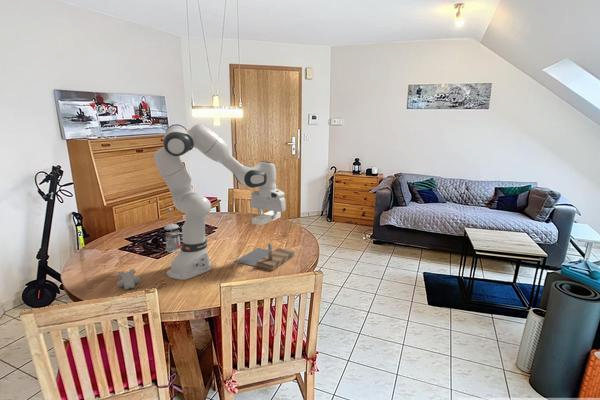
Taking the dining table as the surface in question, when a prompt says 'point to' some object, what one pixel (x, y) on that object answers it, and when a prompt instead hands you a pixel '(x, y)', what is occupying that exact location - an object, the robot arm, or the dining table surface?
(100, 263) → the dining table surface
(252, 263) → the mat
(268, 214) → the link
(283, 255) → the stand
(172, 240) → the french press
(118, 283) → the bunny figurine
